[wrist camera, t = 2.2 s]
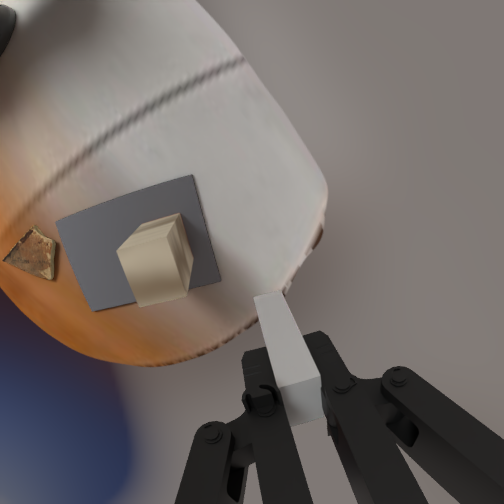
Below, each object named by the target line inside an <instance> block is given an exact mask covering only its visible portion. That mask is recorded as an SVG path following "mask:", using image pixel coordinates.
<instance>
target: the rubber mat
mask: <svg viewBox="0 0 504 504" xmlns="http://www.w3.org/2000/svg"><path fill="white" fill-rule="evenodd" d="M177 213H180V214H181V218H182V221H183V224H184V228H185V231H186V234H187V238H188V241H189V244H190V248H191V251H192V254H193V257H194V259H193V265H192V271H191V276H190V282H189V288H188V289H191V288H195V287H200V286H204V285H208V284H212V283H216V282H220V281H221V278H220V274H219V271H218V268H217V264H216V261H215V257H214V254H213V250H212V247H211V243H210V240H209V236H208V233H207V229H206V226H205V222H204V218H203V215H202V211H201V207H200V203H199V200H198V196H197V192H196V188H195V185H194V181H193V177H192V175H188V176H185V177H181V178H178V179H174V180H171V181H168V182H164V183H161V184H158V185H154V186H151V187H148V188H145V189H142V190H139V191H136V192H133V193H130V194H127V195H124V196H121V197H118V198H115V199H112V200H110V201H107V202H104V203H101V204H99V205H96V206H93V207H91V208H88V209H85V210H83V211H80V212H78V213H75V214H73V215H70V216H68V217H65V218H63V219H61V220H58V221H56V222H55V223H56V226H57V229H58V232H59V235H60V238H61V240H62V243H63V246H64V248H65V251H66V254H67V256H68V259H69V261H70V264H71V266H72V269H73V271H74V273H75V276H76V278H77V280H78V283H79V285H80V287H81V289H82V291H83V294H84V296H85V298H86V300H87V302H88V304H89V306H90V308H91V310H92V311H97V310H101V309H106V308H110V307H115V306H119V305H124V304H128V303H132V302H137V301H136V299H135V296H134V294H133V292H132V289H131V287H130V285H129V282H128V280H127V277H126V275H125V272H124V270H123V267H122V265H121V262H120V260H119V257H118V254H117V252H116V251H117V250H118V248H119V247H120V246H121V245H122V244H123V243H124V242H125V241H126V240H127V239H128V238H129V237H130V236H131V235H132V234H133V233H134V231H135V230H136V229H137V228H138V227H139V226H140V225H141V224H142V223H146V222H149V221H152V220H156V219H159V218H163V217H166V216H170V215H173V214H177Z"/></svg>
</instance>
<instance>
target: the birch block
mask: <svg viewBox="0 0 504 504" xmlns="http://www.w3.org/2000/svg"><path fill="white" fill-rule="evenodd" d="M116 252H117V254H118V257H119V260H120V262H121V265H122V267H123V270H124V272H125V275H126V277H127V280H128V282H129V285H130V287H131V289H132V292H133V294H134V296H135V299H136V301H137V303H138V305H139V308H140V307H144V306H149V305H153V304H157V303H162V302H166V301H170V300H175V299H179V298H183V297H187V294H188V288H189V282H190V276H191V271H192V265H193V259H194V257H193V254H192V251H191V248H190V244H189V241H188V238H187V234H186V231H185V228H184V224H183V221H182V218H181V214H180V213H177V214H173V215H170V216H166V217H163V218H159V219H156V220H152V221H149V222H146V223H142V224H141V225H140V226H139V227H138V228H137V229H136V230H135V231H134V233H133V234H132V235H131V236H130V237H129V238H128V239H127V240H126V241H125V242H124V243H123V244H122V245H121V246H120V247H119V248H118V250H117V251H116Z"/></svg>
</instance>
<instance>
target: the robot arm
mask: <svg viewBox="0 0 504 504" xmlns="http://www.w3.org/2000/svg"><path fill="white" fill-rule="evenodd" d="M14 24H15V12H14V10H13V9H12V8H10V7H8V6H6V5H0V56H1V54H2V52H3V51H4V49H5V47H6V45H7V43H8V41H9V39H10V36H11V34H12V31H13V28H14ZM253 299H254V302H255V306H256V310H257V314H258V318H259V322H260V326H261V330H262V333H263V337H264V341H265V345H266V347H262V348H259V349H255V350H250V351H246V352H245V353H244V355H243V358H242V360H241V361H242V368H243V374H244V381H245V388H246V390H245V391H244V393H243V395H242V402H243V404H244V407H245V409H246V410H245V412H244V413H243V414H242V415H241V416H240V417H238V418H237V419H235V420H233V421H231V422H229V423H227V424H225V423H223V422H218V421H213V422H208V423H206V424H204V425H202V426H201V427H200V428H199V429H198V430H197V432H196V434H195V436H194V440H193V443H192V446H191V450H190V453H189V457H188V460H187V463H186V467H185V470H184V474H183V477H182V481H181V483H180V487H179V490H178V494H177V497H176V500H175V504H243V500H244V494H245V487H246V481H247V474H248V467H249V465H250V464H252V463H254V462H256V468H257V474H258V479H259V485H260V490H261V495H262V501H263V504H313V501H312V498H311V495H310V491H309V488H308V485H307V481H306V478H305V475H304V472H303V468H302V465H301V461H300V458H299V455H298V451H297V448H296V444H295V441H294V438H293V434H292V431H291V427H292V426H296V425H299V424H303V423H306V422H309V421H313V420H316V419H319V418H322V417H324V414H325V416H326V418H327V430H328V436H330V435H331V437H332V440H333V442H334V445H335V447H336V450H337V452H338V455H339V457H340V460H341V462H342V465H343V467H344V470H345V472H346V475H347V477H348V480H349V482H350V485H351V487H352V490H353V493H354V495H355V497H356V500H357V502H358V504H428V502H427V500H426V498H425V496H424V494H423V492H422V490H421V489H420V487H419V485H418V483H417V481H416V479H415V477H414V475H413V474H412V472H411V470H410V468H409V466H408V464H407V463H406V461H405V459H404V457H403V455H402V454H401V452H400V450H399V448H398V446H397V445H396V443H397V444H398V445H399V446H400V447H401V448H402V449H403V450H404V451H405V452H406V453H407V454H408V455H409V456H410V457H411V458H412V459H413V460H414V461H415V462H416V463H417V464H418V465H419V466H421V468H422V469H423V470H424V471H426V472H427V473H428V474H429V475H430V476H431V477H432V478H433V479H434V480H435V481H436V482H437V483H438V484H439V485H440V486H442V487H443V488H444V489H445V490H446V491H447V492H448V493H449V494H450V495H451V496H452V497H454V498H455V499H456V500H457V501H458V502H459V503H460V504H504V439H502V438H501V437H500V436H498V435H497V434H496V433H494V432H493V431H492V430H490V429H489V428H487V427H486V426H485V425H484V424H482V423H481V422H480V421H478V420H477V419H476V418H474V417H473V416H472V415H470V414H469V413H468V412H466V411H465V410H464V409H462V408H461V407H460V406H458V405H457V404H456V403H454V402H453V401H452V400H451V399H449V398H448V397H447V396H445V395H444V394H442V393H441V392H440V391H439V390H437V389H436V388H435V387H433V386H432V385H431V384H429V383H428V382H427V381H425V380H424V379H423V378H421V377H420V376H419V375H417V374H416V373H415V372H413V371H412V370H411V369H409V368H407V367H401V366H397V367H392V368H391V369H388V370H387V371H386V372H385V373H384V374H383V377H382V378H375V379H360V378H357V377H356V376H354V375H352V374H351V373H350V372H349V371H348V369H347V367H346V366H345V364H344V362H343V360H342V359H341V357H340V355H339V354H338V352H337V350H336V349H335V347H334V345H333V344H332V342H331V340H330V338H329V337H328V335H326V334H324V333H323V332H321V331H317V332H313V333H310V334H307V335H304V336H302V335H301V332H300V330H299V328H298V326H297V324H296V322H295V320H294V317H293V315H292V313H291V311H290V309H289V307H288V305H287V303H286V300H285V298H284V296H283V294H282V292H281V290H278V291H274V292H270V293H267V294H263V295H259V296H255V297H253Z"/></svg>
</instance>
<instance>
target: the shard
mask: <svg viewBox="0 0 504 504" xmlns="http://www.w3.org/2000/svg"><path fill="white" fill-rule="evenodd" d="M55 246H56V242H55V241H54V240H52V239H49V238H47V237H45V236H44V235H43V233H42V232H41V231H40V229H39V228H38V227H37V226H36V225H33V226H32V227H31V228H30V229H29V231H27V232H26V233H25V235H24V236H23V237H22V238H21V239H20V240H19V241H18V242H17V243H16V244H15V245H14V247H13V248H12V249H11V251H10V252H9V254H8V255H7V256H6V257H5V258H4V259H3V260H2V261H4V262H7V263H9V264H11V265H14V266H16V267H18V268H20V269H21V270H23V271H26V272H28V273H30V274H33V275H35V276H38V277H41V278H42V277H43V278H45V279H48V280H51V279H53V278H54V255H55Z"/></svg>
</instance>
